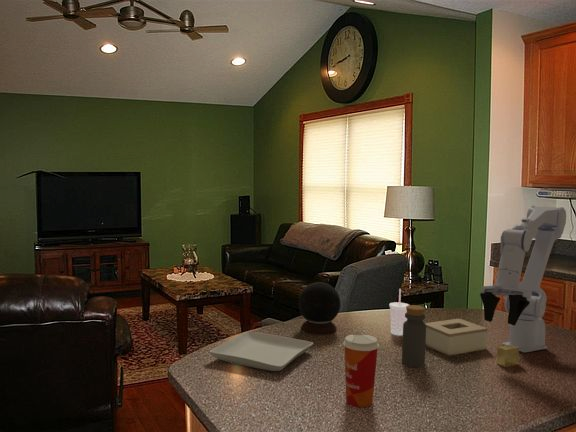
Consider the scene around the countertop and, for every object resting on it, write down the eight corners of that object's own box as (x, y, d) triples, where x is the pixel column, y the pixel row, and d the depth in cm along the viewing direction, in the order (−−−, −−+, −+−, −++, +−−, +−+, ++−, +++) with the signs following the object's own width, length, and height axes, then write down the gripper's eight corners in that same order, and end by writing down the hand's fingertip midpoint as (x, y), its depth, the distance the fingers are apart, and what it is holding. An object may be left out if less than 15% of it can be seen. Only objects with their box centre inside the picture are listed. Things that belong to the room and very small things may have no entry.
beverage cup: (411, 332, 167) (413, 288, 166) (404, 337, 162) (406, 291, 160) (392, 329, 170) (394, 285, 169) (385, 333, 165) (386, 289, 164)
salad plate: (314, 352, 148) (315, 340, 147) (281, 379, 129) (281, 365, 128) (247, 341, 157) (247, 329, 156) (207, 364, 137) (207, 351, 137)
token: (510, 361, 143) (511, 344, 143) (518, 364, 141) (519, 347, 140) (496, 363, 141) (497, 346, 140) (504, 367, 138) (505, 349, 138)
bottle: (425, 368, 136) (427, 310, 135) (401, 366, 137) (403, 309, 136) (424, 360, 142) (426, 305, 141) (401, 358, 143) (403, 303, 142)
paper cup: (338, 394, 119) (340, 333, 118) (372, 394, 120) (374, 333, 119) (345, 410, 111) (347, 344, 110) (381, 409, 112) (383, 344, 111)
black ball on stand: (289, 330, 166) (290, 283, 165) (310, 321, 177) (311, 276, 176) (327, 338, 159) (328, 288, 158) (346, 328, 170) (348, 281, 169)
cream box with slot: (458, 337, 162) (459, 318, 162) (486, 349, 152) (487, 328, 152) (422, 343, 156) (422, 323, 155) (448, 355, 146) (449, 334, 146)
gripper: (477, 267, 147) (467, 315, 145) (522, 269, 134) (512, 322, 132) (495, 274, 150) (485, 322, 147) (540, 277, 137) (530, 329, 135)
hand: (499, 322), depth 140 cm, fingers open, 7 cm apart
